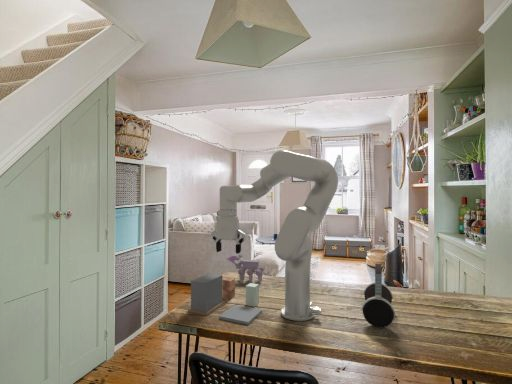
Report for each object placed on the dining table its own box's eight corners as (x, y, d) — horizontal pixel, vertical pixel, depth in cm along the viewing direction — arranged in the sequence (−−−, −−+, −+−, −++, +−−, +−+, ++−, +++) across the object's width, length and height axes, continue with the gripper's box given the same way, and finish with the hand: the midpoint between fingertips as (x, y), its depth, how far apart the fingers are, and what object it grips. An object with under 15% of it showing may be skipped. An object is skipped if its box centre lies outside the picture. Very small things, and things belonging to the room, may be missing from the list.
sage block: (258, 303, 125) (258, 284, 125) (254, 306, 121) (254, 287, 121) (250, 301, 126) (250, 283, 126) (245, 305, 123) (246, 285, 123)
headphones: (361, 326, 103) (361, 269, 103) (363, 305, 122) (363, 257, 122) (395, 332, 99) (395, 272, 99) (392, 309, 118) (392, 259, 118)
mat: (262, 312, 115) (262, 309, 115) (248, 325, 104) (248, 322, 104) (234, 307, 120) (234, 304, 120) (219, 318, 109) (219, 316, 109)
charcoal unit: (225, 303, 124) (225, 275, 124) (207, 315, 112) (207, 283, 112) (206, 300, 128) (206, 272, 128) (187, 311, 116) (188, 280, 116)
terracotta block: (234, 296, 133) (234, 278, 133) (230, 299, 129) (230, 281, 129) (227, 295, 135) (227, 277, 135) (222, 298, 131) (222, 279, 131)
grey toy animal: (222, 282, 153) (223, 255, 154) (229, 277, 164) (229, 252, 164) (260, 285, 149) (260, 257, 149) (264, 280, 159) (265, 254, 160)
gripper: (206, 213, 132) (207, 252, 132) (241, 214, 125) (242, 255, 125) (216, 212, 139) (216, 249, 139) (249, 213, 132) (249, 252, 132)
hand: (228, 252), depth 132 cm, fingers open, 9 cm apart
